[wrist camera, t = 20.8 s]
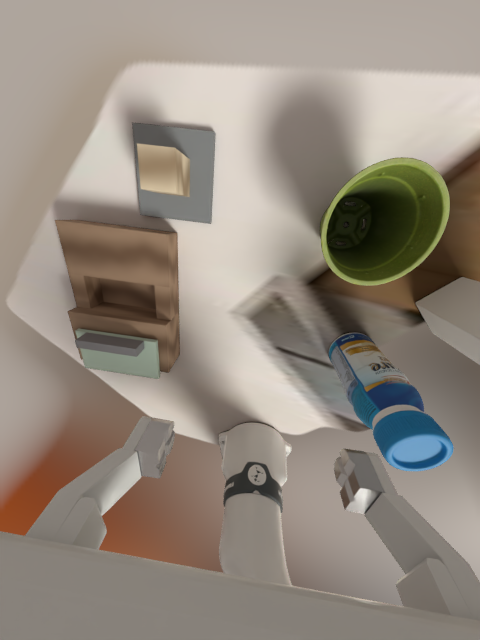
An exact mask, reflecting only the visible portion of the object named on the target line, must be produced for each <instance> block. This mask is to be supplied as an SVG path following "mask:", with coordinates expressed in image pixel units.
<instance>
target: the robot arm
mask: <svg viewBox="0 0 480 640" xmlns="http://www.w3.org/2000/svg"><path fill="white" fill-rule="evenodd" d="M173 428H174V421H169V420H163V419H157V418H152V417H146V416H143V417H142V418H141V419H140V420H139V422H138V423H137V425H136V427H135V428H134V430H133V431H132V433H131V435H130V436H129V438H128V440H127V441H126V443H125V445H124V446H123V448H122V449H120V448H119V449H117V450H116V451H114V452H113V453H111V454H110V455H109V456H107V457H106V458H104V459H103V460H102V461H100V462H99V463H97V464H96V465H94V466H93V467H92V468H90V469H89V470H88V471H86V472H85V473H83V474H82V475H80V476H79V477H77V478H76V479H75V480H73V481H72V482H70V483H69V484H68V485H66V486H65V487H64V488H62V489H61V490H59V491H58V492H57V494H56V495H55V496H54V498H53V499H52V500H51V502H50V503H49V504H48V506H47V507H46V508H45V510H44V511H43V512H42V514H41V515H40V516H39V518H38V519H37V520H36V522H35V523H34V524H33V526H32V527H31V528H30V530H29V531H28V533H27V534H26V535H25V536H22V535H16V534H11V533H6V532H0V640H480V582H479V580H478V578H477V577H476V575H475V573H474V572H473V570H472V568H471V567H470V565H469V564H468V563H467V562H466V561H465V559H464V558H463V557H462V556H461V555H460V554H459V553H458V552H456V550H454V548H453V547H452V546H451V545H450V544H449V543H448V542H447V541H446V540H445V539H444V538H443V537H442V536H441V535H440V534H439V533H438V532H437V531H436V530H435V529H434V528H433V527H432V526H431V525H430V524H429V523H428V522H427V521H426V520H425V519H424V518H423V517H422V516H421V515H420V514H419V513H418V512H417V511H416V510H415V509H414V508H413V507H412V506H411V505H410V504H409V503H408V502H407V501H406V500H405V499H404V498H403V497H402V496H400V495H398V493H397V491H396V489H395V488H394V485H393V484H392V481H391V479H390V477H389V475H388V473H387V472H386V469H385V468H384V465H383V463H382V461H381V459H380V458H379V456H378V455H377V454H375V453H368V452H363V451H356V450H350V449H342V450H341V451H340V456H341V457H339V458H337V459H336V461H335V464H334V472H335V477H336V481H337V482H338V483H339V485H340V486H341V490H340V495H341V498H342V502H343V505H344V509H345V510H347V511H352V512H356V513H362V514H365V517H366V518H367V520H368V521H369V523H370V524H371V525H372V527H373V528H374V530H375V531H376V533H377V534H378V535H379V537H380V538H381V540H382V541H383V543H384V544H385V545H386V547H387V548H388V550H389V551H390V552H391V554H392V555H393V557H394V558H395V559H396V561H397V562H398V564H399V565H400V567H401V568H402V570H403V571H404V572H405V575H404V576H403V577H402V578H400V579H399V580H398V581H397V583H396V587H397V589H398V592H399V595H400V598H401V601H402V604H403V606H404V607H403V606H397V605H392V604H387V603H381V602H376V601H371V600H366V599H360V598H355V597H350V596H344V595H339V594H333V593H328V592H323V591H317V590H312V589H306V588H301V587H295V586H292V584H291V581H290V577H289V574H288V570H287V565H286V560H285V552H284V546H283V536H282V525H281V513H282V503H283V497H282V490H281V486H282V485H283V484H284V483H285V481H287V464H286V457H287V456H288V455H289V453H290V452H291V445H290V444H289V443H288V442H286V441H285V440H284V439H283V438H282V437H281V435H280V434H279V432H278V431H276V430H275V429H274V428H272V427H270V426H268V425H265V424H261V423H243V424H240V425H237V426H235V427H234V428H232V429H231V430H229V431H227V432H223V433H220V434H219V438H218V439H219V444H220V450H221V455H222V460H223V461H222V470H223V474H224V477H225V480H226V485H225V490H224V507H225V509H224V518H223V525H222V534H221V540H220V548H219V556H220V563H221V566H222V569H223V571H224V573H220V572H215V571H210V570H204V569H199V568H194V567H188V566H183V565H178V564H172V563H166V562H161V561H156V560H150V559H145V558H140V557H134V556H129V555H124V554H118V553H113V552H107V551H102V550H98V549H99V547H100V545H101V543H102V541H103V539H104V537H105V535H106V533H107V531H106V527H105V524H104V521H103V519H102V515H103V514H104V513H105V512H106V511H107V510H109V509H110V507H112V506H113V505H114V504H115V503H116V502H117V501H118V500H119V499H120V498H121V497H122V496H123V495H124V494H125V493H126V492H127V491H128V490H129V489H130V488H131V487H132V486H133V485H134V484H135V483H136V482H137V481H138V480H139V479H140V478H141V476H147V477H154V478H160V477H161V474H162V472H163V469H164V467H165V464H166V456H167V455H168V454H169V453H170V451H171V449H172V446H173V442H174V436H175V432H174V431H173Z"/></svg>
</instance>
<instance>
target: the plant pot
mask: <svg viewBox="0 0 480 640" xmlns="http://www.w3.org/2000/svg"><path fill="white" fill-rule="evenodd" d="M345 202H355V203H356V204H355V206H348V205H346V206H345V204H344V203H345ZM361 206H362V207H361ZM449 210H450V199H449V193H448V189H447V187H446V184H445V182H444V180H443V178H442V176H441V175H440V174H439V173H438V172H437V171H436V170H435V169H434V168H433V167H432V166H430V165H429V164H427V163H425V162H423V161H421V160H417V159H413V158H392V159H388V160H384V161H381V162H378V163H376V164H373V165H371V166H369V167H367V168H366V169H364V170H362V171H361V172H359V173H358V174H356V175H355V176H354V177H353V178H352V179H350V180H349V181H348V182H347V183H346V184H345V185H344V186H343V187H342V189H341V190H340V191H339V192H338V193H337V195H336V196H335V198H334V199H333V201H332V202H331V204H330V206H329V207H328V209H327V210H326V211H325V213H324V215H323V217H322V220H321V223H320V234H321V246H322V252H323V255H324V258H325V260H326V262H327V264H328V266H329V267H330V269H331V270H332V271H333V272H334V273H335V274H336V275H338V276H339V277H340V278H342V279H343V280H345V281H348V282H350V283H353V284H357V285H379V284H384V283H387V282H390V281H393V280H395V279H398V278H400V277H402V276H404V275H405V274H407V273H408V272H410V271H411V270H413V269H414V268H416V267H417V266H418V265H419V264H420V263H422V262H423V261H424V260H425V259H426V257H427V256H428V255H429V254H430V253H431V252H432V250H433V249H434V248H435V246H436V245H437V243H438V242H439V240H440V238H441V236H442V234H443V232H444V229H445V227H446V224H447V221H448V216H449ZM363 219H366V225H365V229H364V230H361V228H362V225H363ZM345 222H348V223H349V226H348V227H344V226H343V225H344V223H345ZM327 227H328V229H327ZM359 237H360V238H359ZM331 240H332V241H331ZM330 241H331V242H330ZM329 242H330V243H329ZM336 242H346V244H345V245H337V244H336ZM328 243H329V244H328Z"/></svg>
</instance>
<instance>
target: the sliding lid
mask: <svg viewBox="0 0 480 640" xmlns="http://www.w3.org/2000/svg"><path fill="white" fill-rule="evenodd" d="M75 332H76V335H77V339H76V340H75V342H76V346H77V348H80V350H81V354H82V357H83V361H84V365H85V368H90V369H97V370H103V371H110V372H116V373H123V374H129V375H136V376H142V377H148V378H155V379H159V377H160V366H159V353H158V340H154V339H147V338H140V337H133V336H127V335H120V334H113V333H106V332H100V331H93V330H86V329H77V330H75Z"/></svg>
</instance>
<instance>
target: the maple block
mask: <svg viewBox="0 0 480 640" xmlns="http://www.w3.org/2000/svg"><path fill="white" fill-rule="evenodd" d="M137 151H138V163H139V174H140V186H141V189H143V190H147V191H152V192H156V193H161V194H169V195H177V196H185V197H190V159H189V158H187V157H186V156H185V155H184V154H182V153H181V152H180V151H179V150H177V149H176V148H173V147H164V146H155V145H147V144H138V143H137Z"/></svg>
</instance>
